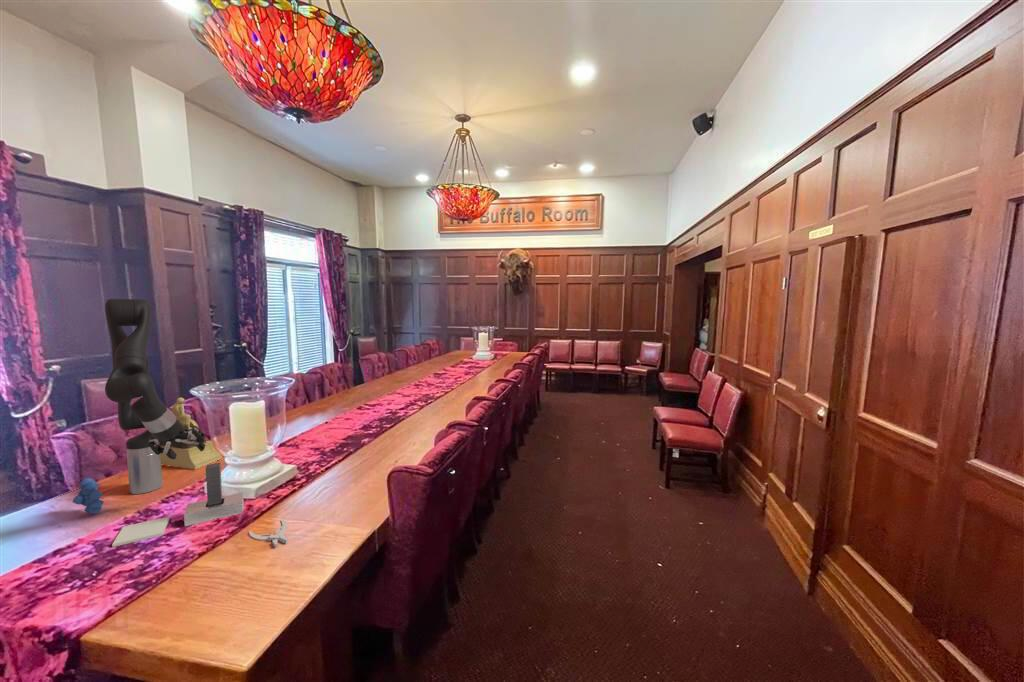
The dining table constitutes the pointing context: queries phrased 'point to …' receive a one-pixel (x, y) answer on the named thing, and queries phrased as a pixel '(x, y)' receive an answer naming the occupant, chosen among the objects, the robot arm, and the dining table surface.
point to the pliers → (274, 538)
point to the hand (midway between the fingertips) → (189, 453)
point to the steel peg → (214, 484)
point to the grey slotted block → (213, 509)
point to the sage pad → (141, 531)
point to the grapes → (89, 496)
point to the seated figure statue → (189, 445)
